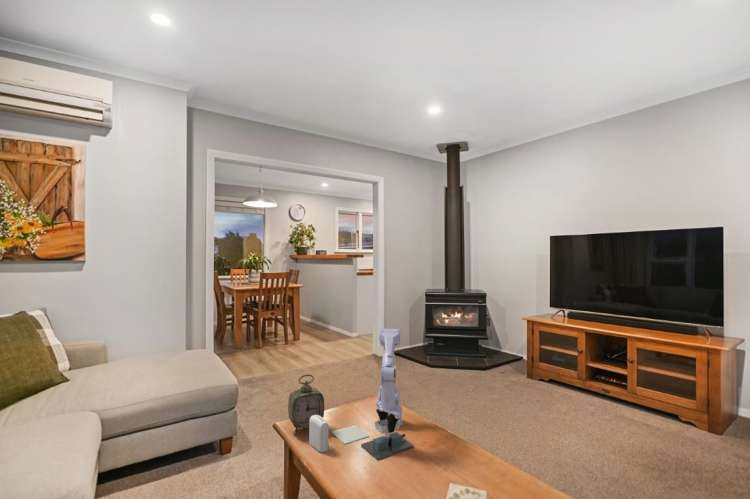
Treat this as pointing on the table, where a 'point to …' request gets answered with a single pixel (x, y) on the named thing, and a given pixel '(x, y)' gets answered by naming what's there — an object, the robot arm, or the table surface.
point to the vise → (387, 445)
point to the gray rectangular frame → (384, 425)
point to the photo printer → (318, 433)
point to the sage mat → (350, 434)
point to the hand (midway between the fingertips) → (387, 429)
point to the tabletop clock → (305, 405)
